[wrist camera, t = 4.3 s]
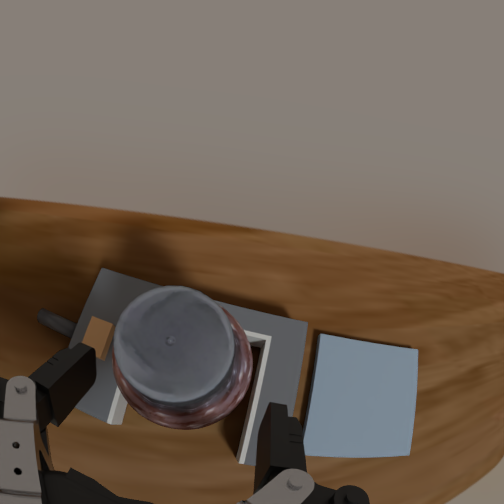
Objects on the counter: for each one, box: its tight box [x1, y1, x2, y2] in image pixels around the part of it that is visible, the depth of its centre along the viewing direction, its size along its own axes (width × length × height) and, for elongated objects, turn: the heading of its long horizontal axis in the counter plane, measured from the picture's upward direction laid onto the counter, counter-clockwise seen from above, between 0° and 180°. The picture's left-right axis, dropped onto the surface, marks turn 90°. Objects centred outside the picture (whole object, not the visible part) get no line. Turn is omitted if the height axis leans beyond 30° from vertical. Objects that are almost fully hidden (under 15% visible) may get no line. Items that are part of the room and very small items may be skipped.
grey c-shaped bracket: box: [37, 268, 308, 466], centre depth 17 cm, size 19×10×3 cm, turn 78°
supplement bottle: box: [112, 286, 253, 430], centre depth 13 cm, size 6×6×11 cm
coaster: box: [303, 334, 418, 457], centre depth 18 cm, size 9×9×1 cm
